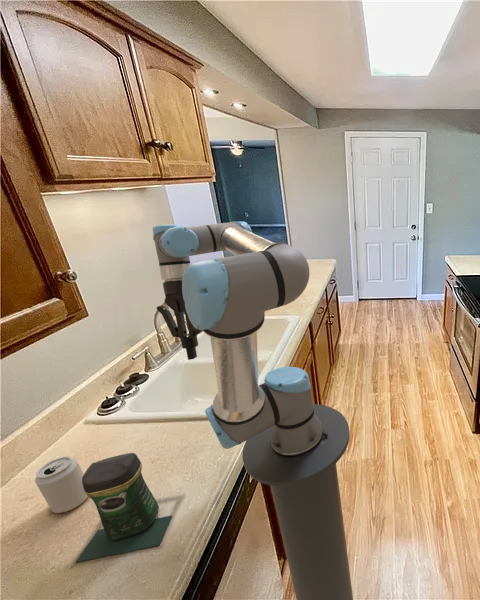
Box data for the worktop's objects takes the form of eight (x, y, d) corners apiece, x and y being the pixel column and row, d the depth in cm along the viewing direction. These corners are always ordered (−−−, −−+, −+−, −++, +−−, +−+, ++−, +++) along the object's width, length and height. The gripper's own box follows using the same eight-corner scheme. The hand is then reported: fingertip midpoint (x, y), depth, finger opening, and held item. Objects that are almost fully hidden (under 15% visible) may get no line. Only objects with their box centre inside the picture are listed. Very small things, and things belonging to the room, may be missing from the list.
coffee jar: (163, 502, 83) (141, 444, 76) (152, 531, 76) (127, 470, 69) (117, 515, 80) (90, 455, 74) (101, 547, 73) (70, 484, 66)
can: (46, 509, 82) (25, 473, 77) (82, 484, 88) (65, 450, 84) (62, 520, 79) (41, 483, 75) (98, 493, 85) (81, 458, 81)
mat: (181, 499, 84) (180, 496, 84) (159, 547, 73) (158, 544, 73) (110, 512, 81) (109, 509, 81) (77, 564, 70) (75, 562, 70)
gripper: (207, 276, 100) (220, 351, 103) (159, 281, 97) (174, 357, 100) (197, 278, 92) (212, 358, 96) (145, 283, 90) (162, 365, 93)
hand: (192, 358), depth 98 cm, fingers closed
